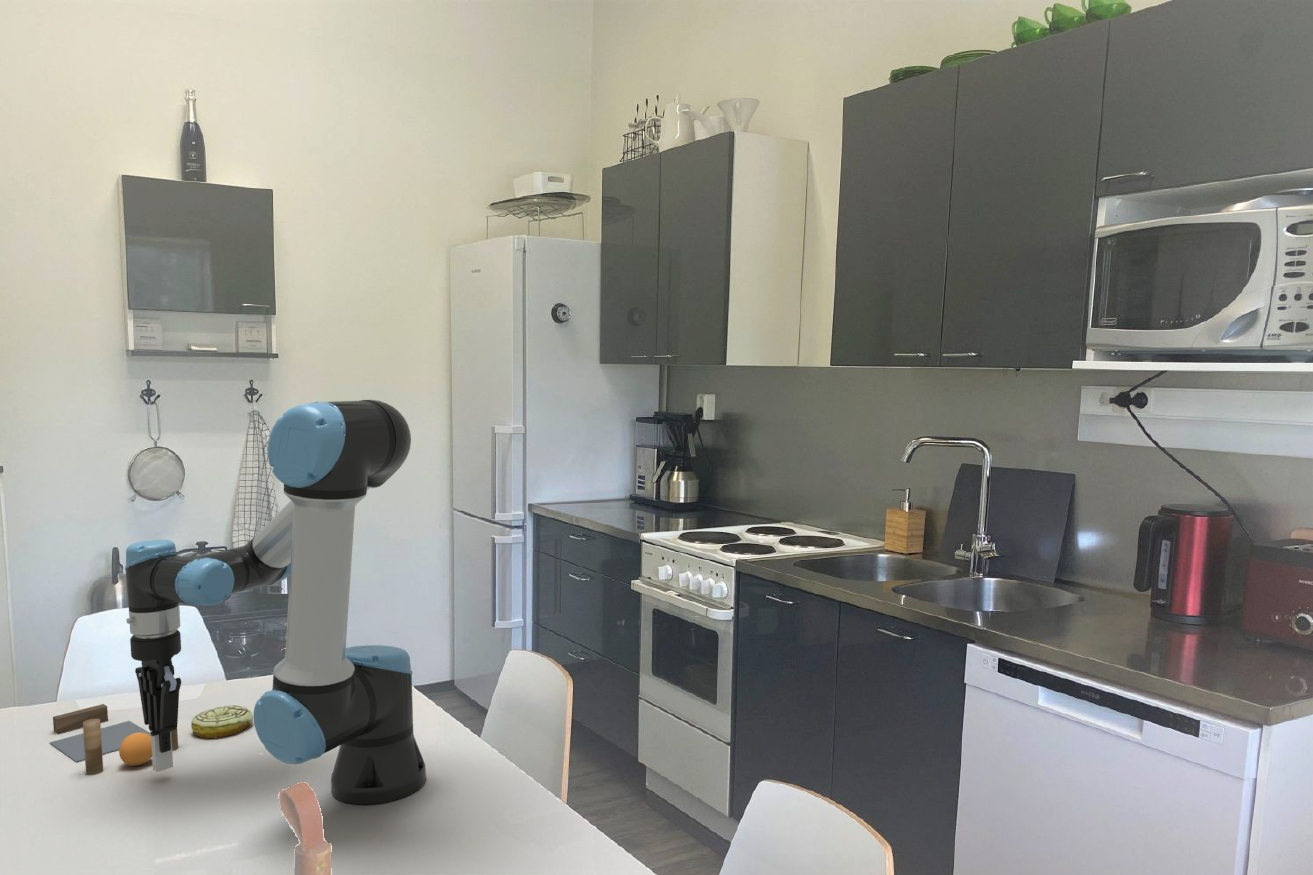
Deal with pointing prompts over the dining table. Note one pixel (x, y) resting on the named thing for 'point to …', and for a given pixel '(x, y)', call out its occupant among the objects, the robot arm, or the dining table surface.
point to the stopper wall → (79, 718)
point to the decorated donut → (221, 721)
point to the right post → (174, 739)
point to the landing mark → (109, 738)
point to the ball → (136, 749)
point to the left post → (93, 746)
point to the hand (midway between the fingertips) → (163, 768)
